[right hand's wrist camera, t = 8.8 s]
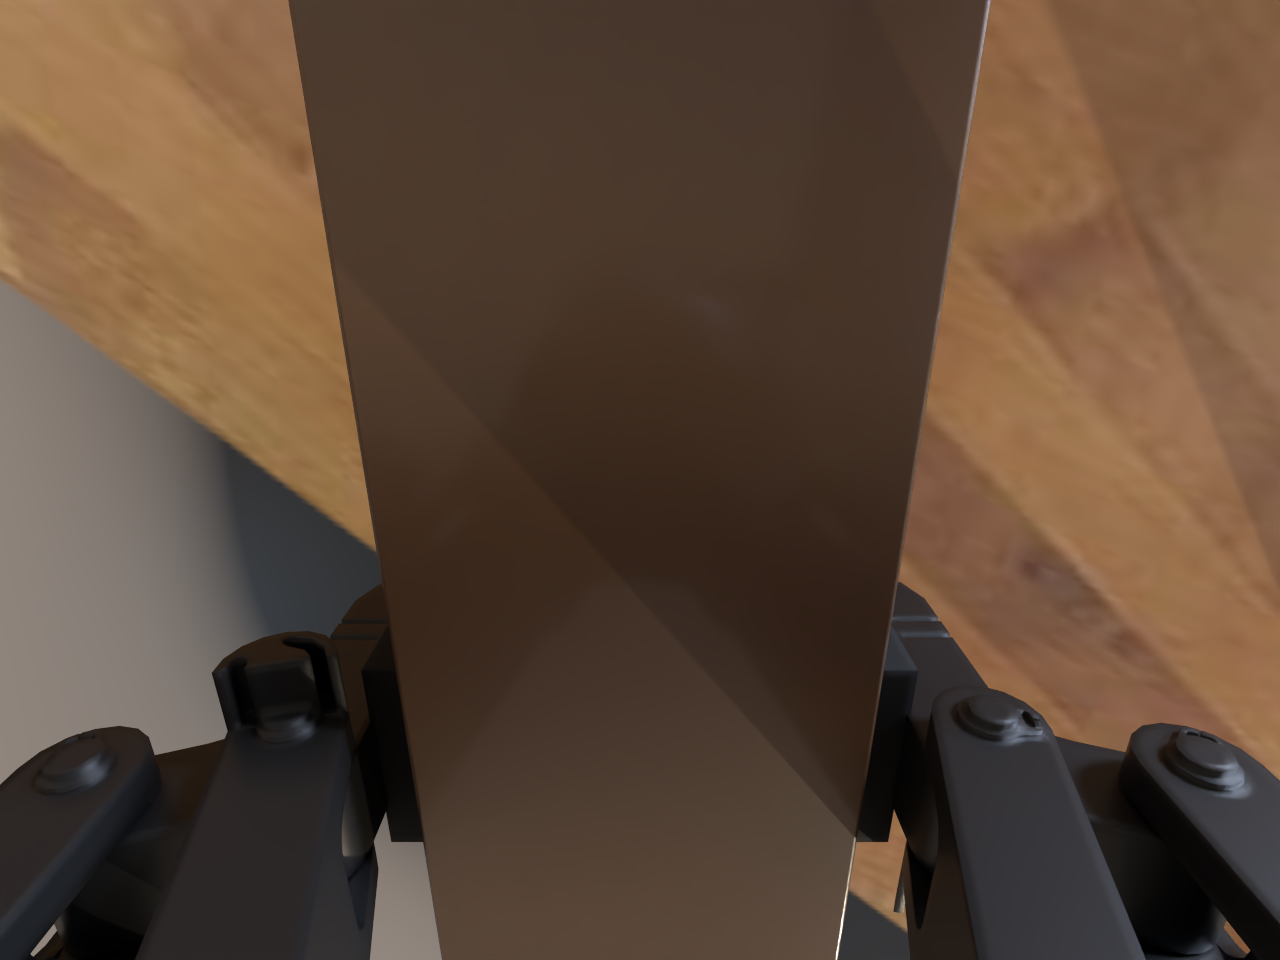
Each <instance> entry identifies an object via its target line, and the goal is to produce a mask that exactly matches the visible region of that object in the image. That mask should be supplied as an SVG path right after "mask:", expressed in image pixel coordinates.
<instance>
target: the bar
mask: <svg viewBox="0 0 1280 960" xmlns="http://www.w3.org/2000/svg"><path fill="white" fill-rule="evenodd" d="M990 1H991V0H289V6H290V13H291V19H292V25H293V31H294V38H295V44H296V50H297V56H298V63H299V69H300V75H301V81H302V88H303V94H304V100H305V106H306V113H307V119H308V125H309V131H310V138H311V144H312V150H313V156H314V163H315V169H316V175H317V181H318V188H319V194H320V200H321V206H322V213H323V219H324V225H325V231H326V238H327V244H328V250H329V256H330V263H331V269H332V275H333V281H334V288H335V294H336V300H337V306H338V312H339V319H340V325H341V331H342V337H343V344H344V350H345V356H346V362H347V369H348V375H349V381H350V387H351V394H352V400H353V406H354V412H355V419H356V425H357V431H358V437H359V444H360V450H361V456H362V462H363V469H364V475H365V481H366V487H367V494H368V500H369V506H370V512H371V519H372V525H373V531H374V537H375V544H376V550H377V556H378V562H379V569H380V575H381V581H382V587H383V594H384V600H385V606H386V612H387V619H388V625H389V631H390V637H391V644H392V650H393V656H394V662H395V669H396V675H397V681H398V687H399V694H400V700H401V706H402V712H403V719H404V725H405V731H406V737H407V744H408V750H409V756H410V762H411V769H412V775H413V781H414V787H415V794H416V800H417V806H418V812H419V819H420V825H421V831H422V837H423V843H424V850H425V856H426V862H427V868H428V875H429V881H430V887H431V893H432V900H433V906H434V912H435V918H436V925H437V931H438V937H439V943H440V950H441V956H442V960H838V954H839V947H840V941H841V935H842V928H843V922H844V916H845V910H846V903H847V897H848V891H849V885H850V878H851V872H852V866H853V860H854V853H855V847H856V841H857V835H858V828H859V822H860V816H861V810H862V803H863V797H864V791H865V785H866V778H867V772H868V766H869V759H870V753H871V747H872V741H873V734H874V728H875V722H876V716H877V709H878V703H879V697H880V691H881V684H882V678H883V672H884V665H885V659H886V653H887V647H888V640H889V634H890V628H891V622H892V615H893V609H894V603H895V597H896V590H897V584H898V578H899V571H900V565H901V559H902V553H903V546H904V540H905V534H906V528H907V521H908V515H909V509H910V503H911V496H912V490H913V484H914V478H915V471H916V465H917V459H918V452H919V446H920V440H921V434H922V427H923V421H924V415H925V409H926V402H927V396H928V390H929V384H930V377H931V371H932V365H933V358H934V352H935V346H936V340H937V333H938V327H939V321H940V315H941V308H942V302H943V296H944V290H945V283H946V277H947V271H948V264H949V258H950V252H951V246H952V239H953V233H954V227H955V221H956V214H957V208H958V202H959V196H960V189H961V183H962V177H963V171H964V164H965V158H966V152H967V145H968V139H969V133H970V127H971V120H972V114H973V108H974V102H975V95H976V89H977V83H978V77H979V70H980V64H981V58H982V51H983V45H984V39H985V33H986V26H987V20H988V14H989V8H990Z"/></svg>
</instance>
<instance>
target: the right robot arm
mask: <svg viewBox="0 0 1280 960" xmlns="http://www.w3.org/2000/svg"><path fill="white" fill-rule="evenodd" d="M212 675H213V679H214V683H215V686H216V690H217V694H218V697H219V701H220V705H221V708H222V712H223V716H224V719H225V723H226V726H227V730H228V732H227V735H226V737H225V739H223V740H219V741H216V742H212V743H209V744H205V745H200V746H195V747H191V748H187V749H182V750H177V751H172V752H168V753H163V754H159V755H154V752H153V749H152V746H151V743H150V740H149V737H148V736H147V735H145V734H144V733H143V732H142V731H140V730H139V729H136V728H130V727H123V726H116V727H108V728H100V729H94V730H91V731H87V732H83V733H81V734H77V735H74V736H71V737H69V738H66V739H64V740H62V741H61V742H59V743H57V744H55V745H53V746H51V747H49V748H47V749H45V750H43V751H41V752H39V753H38V754H37V755H35V756H34V757H33V758H31V759H30V760H29V761H27V762H26V763H25V764H23V765H22V766H20V767H19V768H18V769H17V770H16V771H15V772H13V773H12V774H11V775H10V776H9V777H8V778H7V779H6V780H5V781H4V782H3V783H2V784H1V785H0V960H370V950H371V940H372V930H373V920H374V909H375V899H376V889H377V879H378V863H377V857H376V851H375V846H374V839H375V836H376V834H377V832H378V829H379V827H380V824H381V822H382V820H383V817H384V815H385V812H386V814H387V819H388V825H389V830H390V836H391V842H423V837H422V831H421V825H420V819H419V812H418V806H417V800H416V794H415V787H414V781H413V775H412V769H411V762H410V756H409V750H408V744H407V737H406V731H405V725H404V719H403V712H402V706H401V700H400V694H399V687H398V681H397V675H396V669H395V662H394V656H393V650H392V644H391V637H390V631H389V625H388V619H387V612H386V606H385V600H384V594H383V587H382V584H380V585H378V586H376V587H375V588H373V589H372V590H371V591H369V592H368V593H366V594H365V595H363V596H362V597H360V598H359V599H357V600H356V601H355V602H354V603H353V605H352V606H351V608H350V609H349V611H348V612H347V613H346V615H345V616H344V618H343V619H342V624H339V625H338V626H337V627H336V629H335V630H334V632H333V633H332V635H331V638H328V637H327V636H326V635H323V634H318V633H314V632H310V631H302V632H285V633H281V634H276V635H272V636H267V637H263V638H261V639H259V640H256V641H254V642H251V643H249V644H247V645H244V646H242V647H240V648H239V649H237V650H236V651H234V652H233V653H231V654H230V655H228V656H227V657H225V658H224V659H223V660H222V661H221V662H220V664H219V665H218V666H217V667H216V668H215V670H214V671H213V672H212ZM894 810H895V813H896V815H897V817H898V820H899V822H900V825H901V827H902V829H903V832H904V834H905V837H906V839H907V841H906V846H905V851H904V857H903V862H902V867H901V872H900V877H899V883H898V888H897V893H896V899H895V905H894V912H898V913H902V914H903V909H904V904H905V908H906V918H907V928H908V938H909V948H910V959H911V960H1280V781H1279V780H1278V779H1277V778H1276V777H1275V776H1274V775H1273V774H1272V773H1271V772H1270V771H1269V770H1267V769H1266V768H1265V767H1264V766H1263V765H1262V764H1260V763H1259V762H1258V761H1256V760H1255V759H1254V758H1252V757H1251V756H1250V755H1248V754H1247V753H1246V752H1244V751H1243V750H1242V749H1240V748H1238V747H1236V746H1234V745H1232V744H1230V743H1228V742H1226V741H1224V740H1222V739H1220V738H1218V737H1217V736H1215V735H1212V734H1210V733H1207V732H1204V731H1199V730H1198V729H1194V728H1190V727H1187V726H1181V725H1173V724H1165V723H1157V724H1150V725H1143V726H1141V727H1140V728H1139V729H1137V730H1136V731H1135V732H1134V733H1132V734H1131V737H1130V741H1129V744H1128V747H1127V750H1126V752H1121V751H1117V750H1112V749H1107V748H1103V747H1098V746H1093V745H1089V744H1084V743H1079V742H1075V741H1071V740H1067V739H1064V738H1060V737H1057V736H1054V733H1053V731H1052V729H1051V728H1050V726H1049V725H1048V724H1047V722H1046V721H1045V719H1044V718H1043V716H1042V715H1041V714H1039V713H1038V712H1037V711H1035V710H1034V709H1033V708H1032V707H1030V706H1029V705H1028V704H1026V703H1025V702H1023V701H1021V700H1019V699H1017V698H1015V697H1013V696H1011V695H1009V694H1006V693H1004V692H1002V691H998V690H994V689H990V688H988V687H987V685H986V684H985V682H984V681H983V680H982V678H981V677H980V675H979V674H978V673H977V671H976V670H975V668H974V667H973V666H972V664H971V663H970V662H969V660H968V659H967V657H966V656H965V655H964V653H963V652H962V650H961V649H960V648H959V646H958V645H957V643H956V642H955V641H954V639H953V638H952V637H950V636H949V632H948V631H947V629H946V628H945V627H944V625H943V624H942V622H941V621H938V617H937V615H936V614H935V613H934V611H933V610H932V608H931V607H930V606H929V604H928V603H927V601H926V600H925V599H924V598H923V597H921V596H920V595H918V594H917V593H915V592H914V591H913V590H911V589H910V588H908V587H907V586H905V585H904V584H902V583H901V582H898V584H897V590H896V597H895V603H894V609H893V615H892V622H891V628H890V634H889V640H888V647H887V653H886V659H885V665H884V672H883V678H882V684H881V691H880V697H879V703H878V709H877V716H876V722H875V728H874V734H873V741H872V747H871V753H870V759H869V766H868V772H867V778H866V785H865V791H864V797H863V803H862V810H861V816H860V822H859V828H858V835H857V841H856V842H888V839H889V833H890V828H891V822H892V816H893V811H894ZM1226 921H1228V922H1229V924H1230V925H1231V926H1232V927H1233V929H1234V930H1235V931H1236V932H1237V934H1238V935H1239V936H1240V937H1241V939H1242V940H1243V941H1244V942H1245V944H1246V945H1247V946H1248V947H1249V949H1250V952H1249V953H1248V954H1246V953H1245V952H1244V951H1243V950H1242V949H1241V948H1240V947H1239V946H1238V945H1237V944H1236V943H1235V942H1234V941H1233V940H1232V938H1231V937H1230V936H1229V934H1228V933H1227V932H1226V931H1225V929H1224V928H1223V927H1224V925H1225V923H1226ZM53 924H54V925H55V927H56V929H57V932H56V933H55V934H54V935H53V937H52V938H51V939H50V940H49V942H48V943H47V944H46V946H45V947H43V948H42V949H41V950H40V951H39V952H38V953H37V954H36V955H35V956H34V957H33V956H32V955H31V954H30V953H31V952H32V951H33V949H34V948H35V947H36V946H37V944H38V943H39V942H40V941H41V939H42V938H43V937H44V936H45V934H46V933H47V932H48V930H49V929H50V928H51V927H52V926H53Z"/></svg>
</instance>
